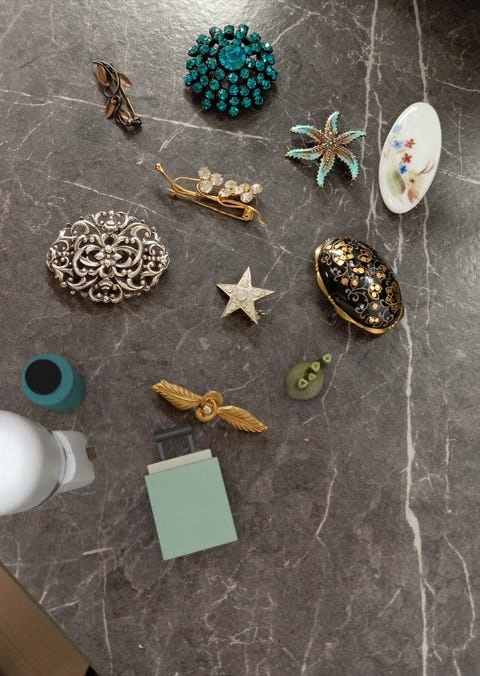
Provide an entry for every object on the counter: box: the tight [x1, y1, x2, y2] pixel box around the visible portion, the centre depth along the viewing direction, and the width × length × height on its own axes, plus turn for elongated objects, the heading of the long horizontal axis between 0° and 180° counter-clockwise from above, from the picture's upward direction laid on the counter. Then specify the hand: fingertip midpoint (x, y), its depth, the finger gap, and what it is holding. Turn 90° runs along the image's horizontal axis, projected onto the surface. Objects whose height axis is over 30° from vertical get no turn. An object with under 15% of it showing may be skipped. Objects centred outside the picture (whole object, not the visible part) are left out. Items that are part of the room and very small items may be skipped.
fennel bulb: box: [284, 353, 333, 401], centre depth 119 cm, size 6×5×12 cm
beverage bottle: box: [20, 353, 88, 414], centre depth 113 cm, size 6×7×20 cm
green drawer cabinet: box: [144, 456, 239, 562], centre depth 116 cm, size 10×9×8 cm
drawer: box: [146, 422, 213, 475], centre depth 117 cm, size 13×8×7 cm, turn 15°
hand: (50, 468), depth 92 cm, fingers closed
